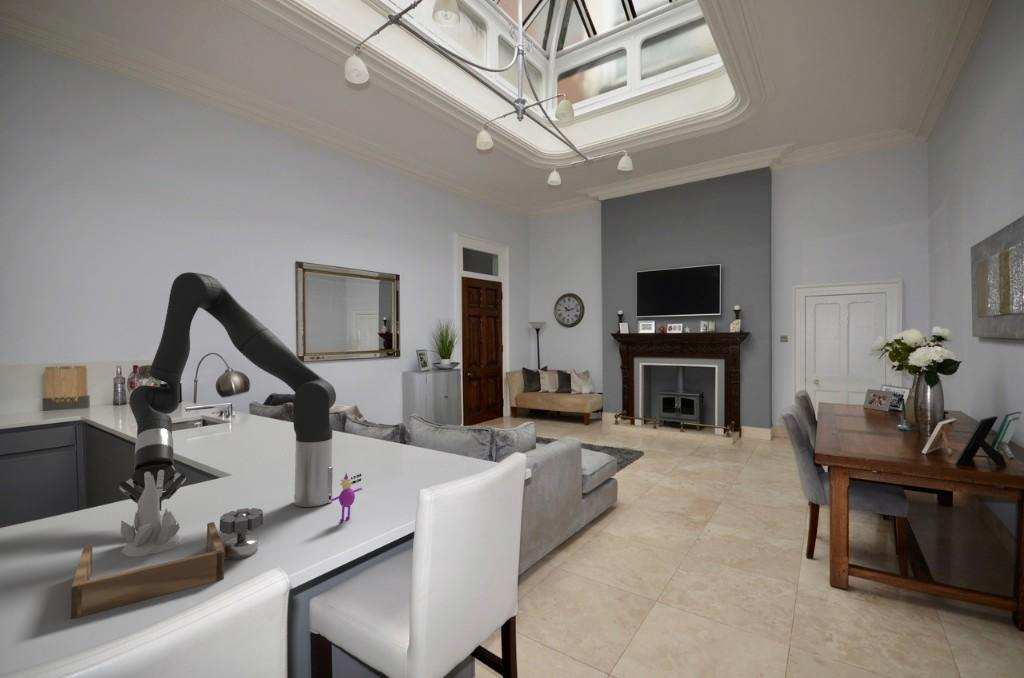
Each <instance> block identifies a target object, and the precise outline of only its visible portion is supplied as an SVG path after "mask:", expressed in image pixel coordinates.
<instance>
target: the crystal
mask: <svg viewBox="0 0 1024 678" xmlns="http://www.w3.org/2000/svg"><path fill="white" fill-rule="evenodd" d="M141 494H142V495H141V497H140V499H139V501H138V503H136V504H137V510H136V512H135V513H134V519H133V524H132V525H130V524H129V523H127V522H125V521H124V520H120V521H121V522H120V530H119V531H120V534H121V535H122V537H123V538H124V539H125V540H126V541H128V542H126V544H125V545H124V547H123V548H122V549H121V553H123V555H125V556H127V557H141V556H142V557H143V556H148V555H153V554H156V553H157V554H158V553H162V552H165V551H167V550H169V549H172V548H173V547H176V546H177V545H179V543H180V542H181V541H182V539H181V536H180V535H179V534H178V532H179V530H180V527H181V526H180V523H179V522H177V520H176V518H175V516H174V515H173V513H172V511H171V510H169V511H168V508H167V507H166V508H165V510H164V513H163V512H162V510H161V511H160V498H159V495H158V491H157V488H156V484H155V481H154V477H153V475H151V477H150V479H149V481H148V483H147V485H146V487H145V489H144V490H142V493H141Z"/></svg>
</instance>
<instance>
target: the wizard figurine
mask: <svg viewBox="0 0 1024 678" xmlns="http://www.w3.org/2000/svg"><path fill="white" fill-rule="evenodd" d="M359 477H362V473H359V474H356V475H353V476H351V478H350V477H349V476H348V474H347V472H345V475H344V477H343V478H342V479H341V480H340V481H341V483H340V486H342V490H341V492H340V494H339V496H336V497H332V499H331V494H329V500H328V502H329V503H333V502H334V501H336V500H338V502H339V504H340V506H341V518H340V519H339V522H342V523H343V522H345V519H346V520H350V519H351V506H352V505H353V504H354V501H355V500H356V499H355V498H356V494H355V493H356V492H359V491H363V489H364V487H363V486H360V487H359V488H356V489H354V490H353V489H352V485H354V484H356V483H359V482H361V481H362V478H359ZM357 478H358V479H357ZM355 479H356V480H355ZM346 508H347V516H346V517H345V511H346V510H345V509H346Z"/></svg>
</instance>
